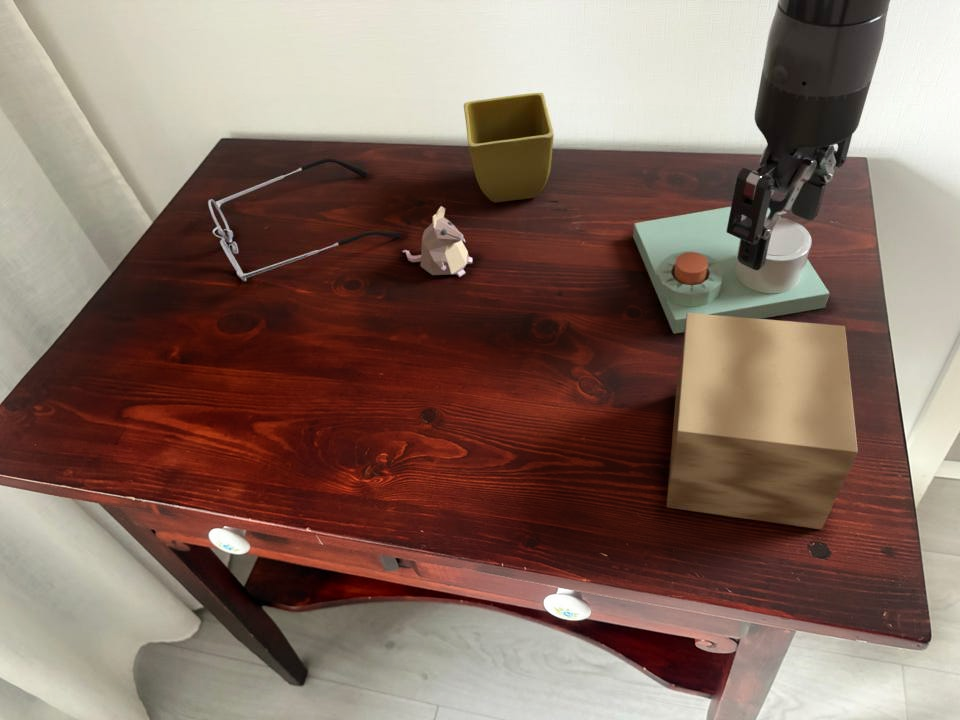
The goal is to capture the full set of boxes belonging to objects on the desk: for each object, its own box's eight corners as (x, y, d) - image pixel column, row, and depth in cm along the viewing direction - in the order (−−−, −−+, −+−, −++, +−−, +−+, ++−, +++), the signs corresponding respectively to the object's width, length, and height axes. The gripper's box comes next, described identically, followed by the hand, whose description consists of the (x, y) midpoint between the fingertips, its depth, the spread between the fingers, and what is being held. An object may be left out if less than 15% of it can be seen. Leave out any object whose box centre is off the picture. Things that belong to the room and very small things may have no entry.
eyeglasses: (214, 221, 88) (197, 186, 84) (364, 170, 91) (354, 134, 87) (240, 305, 78) (222, 269, 74) (408, 244, 81) (399, 206, 77)
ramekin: (815, 267, 69) (825, 233, 66) (779, 303, 67) (788, 269, 64) (757, 241, 72) (764, 207, 69) (720, 274, 70) (726, 241, 67)
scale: (825, 308, 68) (834, 279, 66) (669, 335, 68) (672, 307, 66) (766, 214, 78) (772, 186, 75) (629, 238, 78) (631, 210, 75)
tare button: (710, 282, 68) (712, 270, 67) (679, 288, 68) (681, 275, 67) (700, 262, 70) (701, 249, 68) (670, 267, 70) (671, 255, 68)
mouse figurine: (414, 237, 82) (402, 185, 77) (479, 252, 79) (472, 200, 74) (390, 267, 79) (376, 216, 74) (457, 285, 76) (447, 233, 71)
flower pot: (547, 160, 88) (543, 90, 81) (557, 206, 82) (554, 134, 76) (473, 171, 88) (463, 101, 82) (478, 217, 83) (467, 146, 76)
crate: (814, 409, 61) (845, 325, 54) (821, 529, 54) (858, 452, 47) (675, 394, 64) (686, 312, 56) (666, 507, 57) (677, 430, 50)
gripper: (813, 126, 50) (770, 302, 62) (916, 39, 55) (859, 215, 67) (715, 93, 54) (693, 264, 66) (821, 14, 59) (783, 185, 71)
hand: (777, 239), depth 67 cm, fingers open, 8 cm apart
